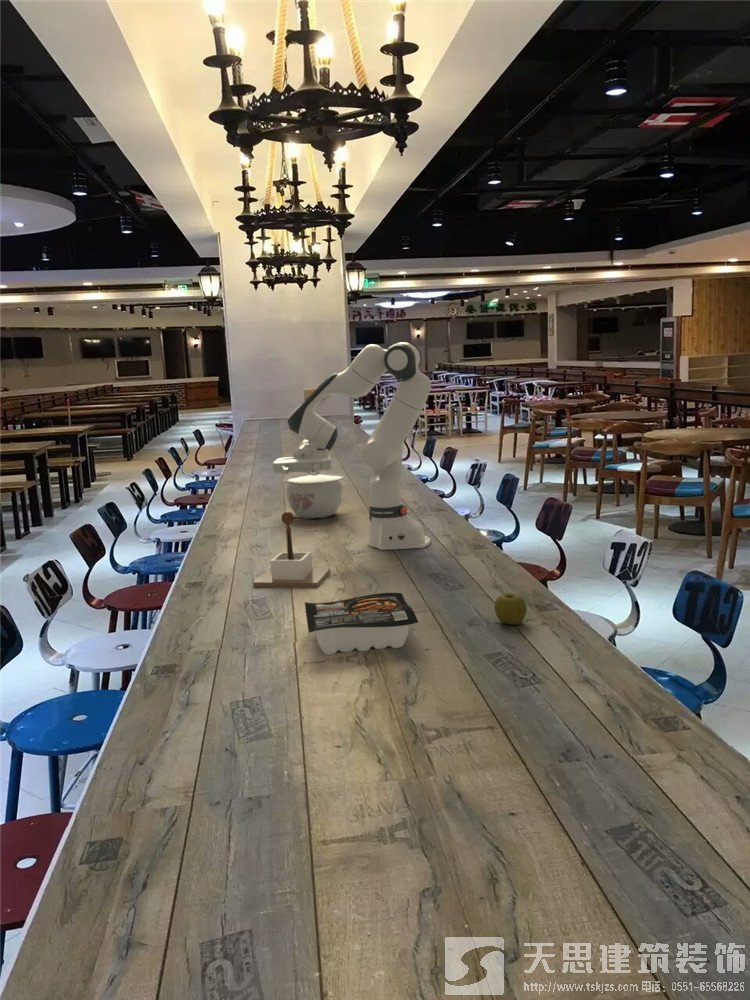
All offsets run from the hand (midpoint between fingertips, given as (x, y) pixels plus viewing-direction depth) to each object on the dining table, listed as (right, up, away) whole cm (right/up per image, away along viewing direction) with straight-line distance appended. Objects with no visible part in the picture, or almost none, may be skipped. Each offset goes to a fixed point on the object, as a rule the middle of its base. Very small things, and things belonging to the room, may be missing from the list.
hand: (299, 471), depth 258 cm
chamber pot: (0, -17, +77) cm, 78 cm away
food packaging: (+22, -43, -70) cm, 85 cm away
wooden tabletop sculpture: (0, -33, -19) cm, 38 cm away
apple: (+59, -40, -66) cm, 97 cm away
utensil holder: (0, -34, -19) cm, 39 cm away
